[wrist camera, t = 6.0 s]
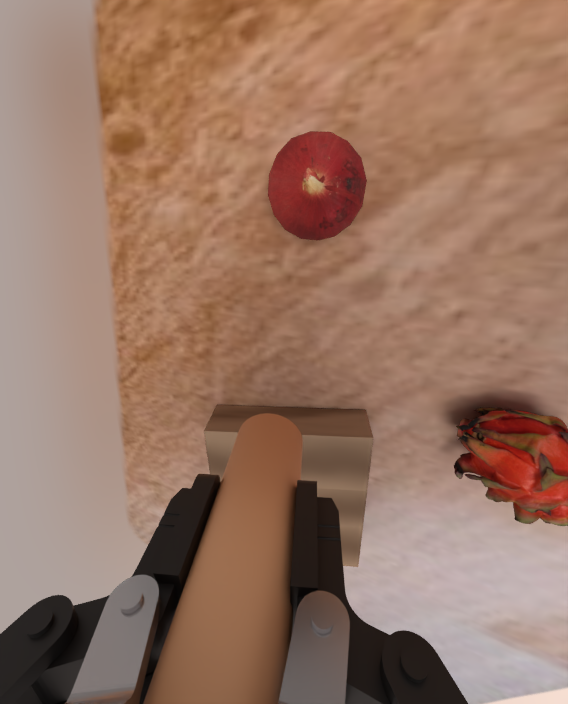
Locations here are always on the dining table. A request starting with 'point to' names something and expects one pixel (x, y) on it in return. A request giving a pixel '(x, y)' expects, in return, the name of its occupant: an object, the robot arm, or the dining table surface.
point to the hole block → (313, 458)
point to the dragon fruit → (519, 461)
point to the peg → (238, 580)
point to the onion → (316, 185)
